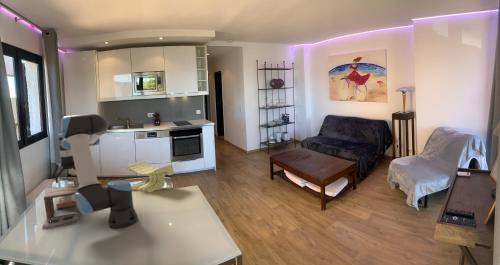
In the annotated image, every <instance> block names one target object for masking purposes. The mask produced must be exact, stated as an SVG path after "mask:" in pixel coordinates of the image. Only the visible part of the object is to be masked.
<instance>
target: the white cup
mask: <svg viewBox="0 0 500 265" xmlns="http://www.w3.org/2000/svg"><path fill="white" fill-rule="evenodd" d="M60 198H61V200H62V203H63V202H69V201H75V197H74V195H69V196H62V197H60Z"/></svg>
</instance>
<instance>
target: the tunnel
mask: <svg viewBox="0 0 500 265" xmlns="http://www.w3.org/2000/svg"><path fill="white" fill-rule="evenodd" d="M78 187H79V185H74V186H72V187H68V186H67V187H60V188H59V187H58V188H53V189H48V191H47V192H46V193H45V195H44V196H43V201H44V202H43V203H44V208H45V209H44V210H45V213H46V214H45V215H46V218H45V220H44V222H43V224H42V225H41V226H42V227H41V228H42V229H43V228H44V229H48V228H47V227H50V228H53V227H52V226H55V227H60V226H59V225H61V226H65V224H66V225H70V223H71V224H77V223H78V220H79V217H80V214H81V212H80V211H79V209H78V207H77V204H76V206H75V207H76V212H74V213H68V214H62V215H58V216H56V215H55V216H53V214H54V212H55V204H54V198H55V199H56V198H61V197H62V196H69V195H75V193H77V188H78ZM50 221H51V222H50ZM76 222H77V223H76Z"/></svg>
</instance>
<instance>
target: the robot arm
mask: <svg viewBox="0 0 500 265" xmlns="http://www.w3.org/2000/svg"><path fill="white" fill-rule="evenodd" d="M108 129H109V122H108V120H107V119H106V118H105V117H104V116H102V115H99V114H96V113H90V114H76V115H75V114H74V115H73V114H72V115H71V114H70V115H65V116H63V117H62V118H61V120H60V133H58V134H57V141H58V146H59V147H58V148H59V154H60V162H61V163H56V165H55V169H54V170H53V171H54V172H53V174H52V177H51V178H52V179H55V183H56V184H57V186H58V188H62V186H61V180H60V175H62V173H63V171H64V170H72V169H73V170H75V172H76V176H77V181H78V182H77V183H78V186H79V187H78V188H77V193H75V195H74V197H75V201H76V204H77V207H78V209H79V211H80V214H82V215H87V214H93V213H96V212H100V211H103V210H106V209H109V210H110V211H109V215H108V219H107V226H108V227H109V228H111V229H122V228H127V227H130V226H133V225H134V224H136V223H137V222H138V220H139V218H138V217H139V216H138V213H137V211H136V209H135V207H134V201H133V189H132V184H131V182H129V181H128V180H121V179H120V180H119V179H118V180H117V179H116V180H112V181H109V182H107V184H106V185H105V186H103V184H102V182H100V181H98V176H97V173H96V169H95V164H94V159H93V155H92V151H91V148H90V147H94V146H99V145H100V141H101V140H100V137H101V136H102V135H104V134H106V133H107V131H108ZM60 167H62V168H61V170H60V171H59V172H58V170H59V168H60ZM57 172H58V174H57Z"/></svg>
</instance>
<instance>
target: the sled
mask: <svg viewBox="0 0 500 265" xmlns="http://www.w3.org/2000/svg"><path fill="white" fill-rule="evenodd" d="M72 186H75V182H74V181H69V182H67V187H72ZM58 198H59V199H58V200H57V202H56V205H55V206H56V209H62V208H69V207H76V201H69V202H63V203H62V200H61V197H58Z"/></svg>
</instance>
